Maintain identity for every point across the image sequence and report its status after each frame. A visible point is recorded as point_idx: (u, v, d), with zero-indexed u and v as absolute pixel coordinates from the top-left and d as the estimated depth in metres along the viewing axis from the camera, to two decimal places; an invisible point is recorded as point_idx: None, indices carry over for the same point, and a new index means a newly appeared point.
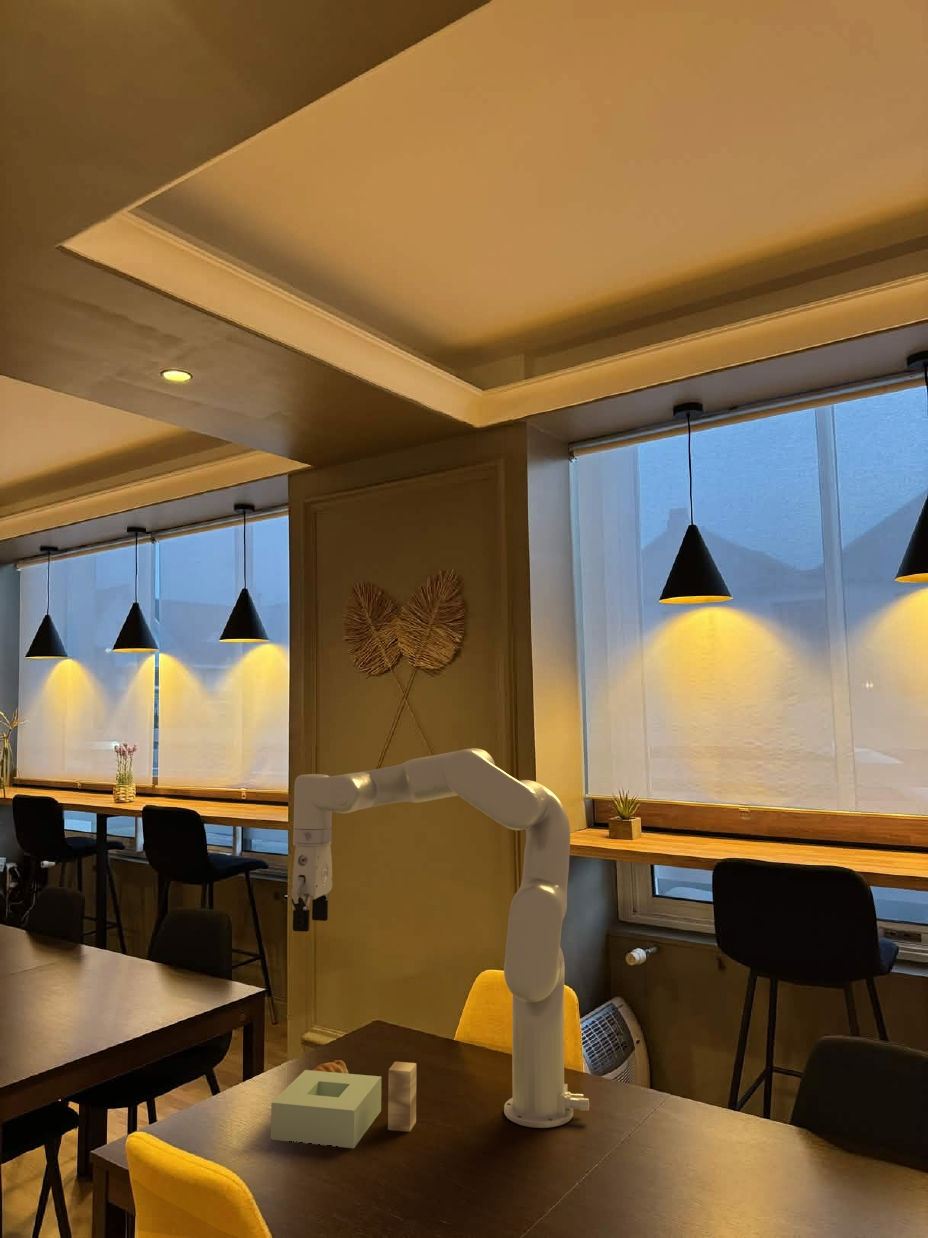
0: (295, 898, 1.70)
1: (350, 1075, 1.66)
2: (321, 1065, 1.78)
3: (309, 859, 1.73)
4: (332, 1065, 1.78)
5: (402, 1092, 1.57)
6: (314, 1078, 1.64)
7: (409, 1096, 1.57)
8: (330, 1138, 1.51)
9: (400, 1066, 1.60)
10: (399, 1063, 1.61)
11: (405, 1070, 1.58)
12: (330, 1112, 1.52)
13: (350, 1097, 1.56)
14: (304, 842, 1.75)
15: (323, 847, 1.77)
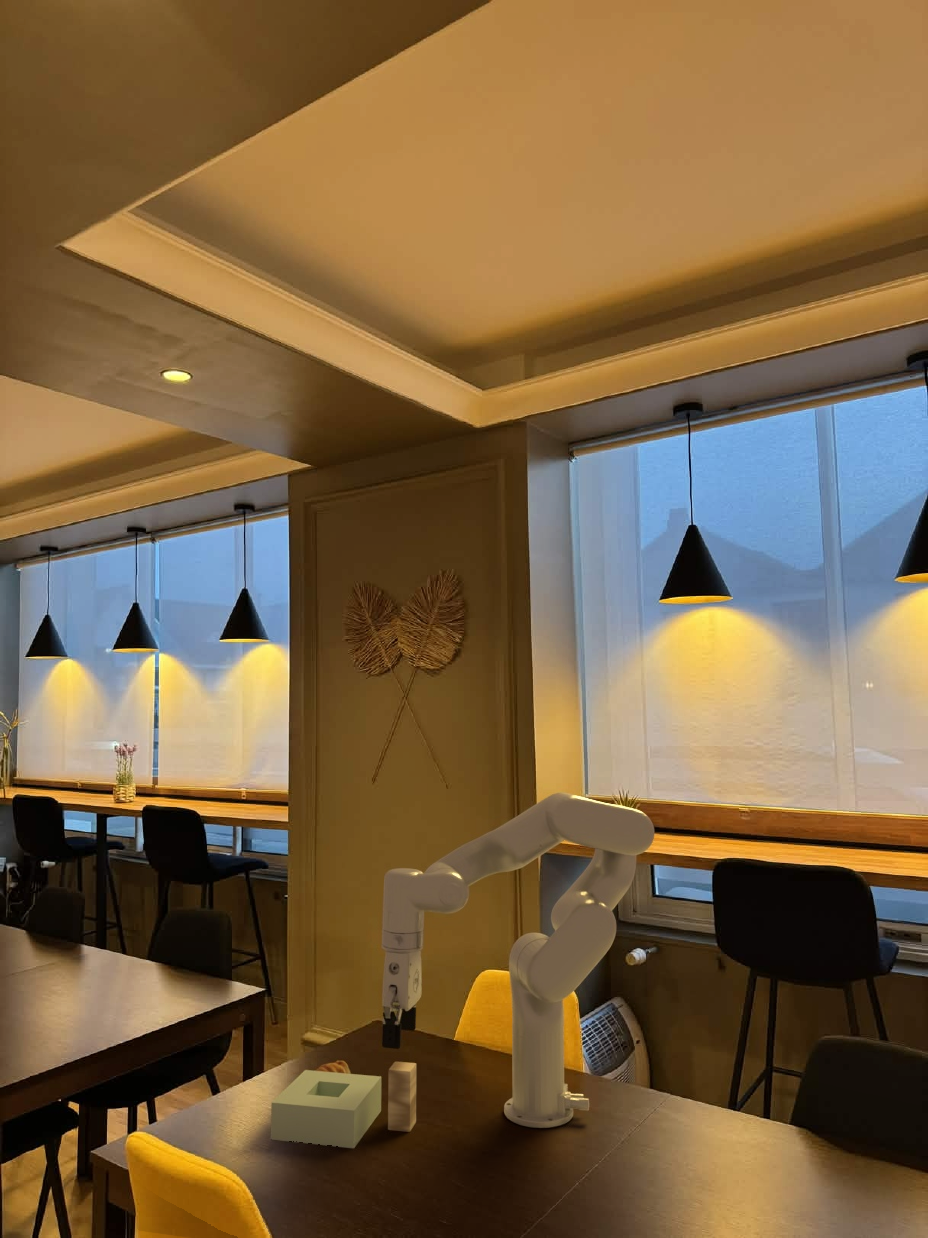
0: (387, 1013, 1.53)
1: (350, 1075, 1.66)
2: (323, 1066, 1.78)
3: (401, 967, 1.57)
4: (334, 1065, 1.78)
5: (402, 1092, 1.57)
6: (314, 1078, 1.64)
7: (409, 1096, 1.57)
8: (330, 1138, 1.51)
9: (399, 1066, 1.60)
10: (399, 1063, 1.61)
11: (405, 1070, 1.58)
12: (330, 1112, 1.52)
13: (350, 1097, 1.56)
14: (395, 947, 1.59)
15: (415, 952, 1.61)
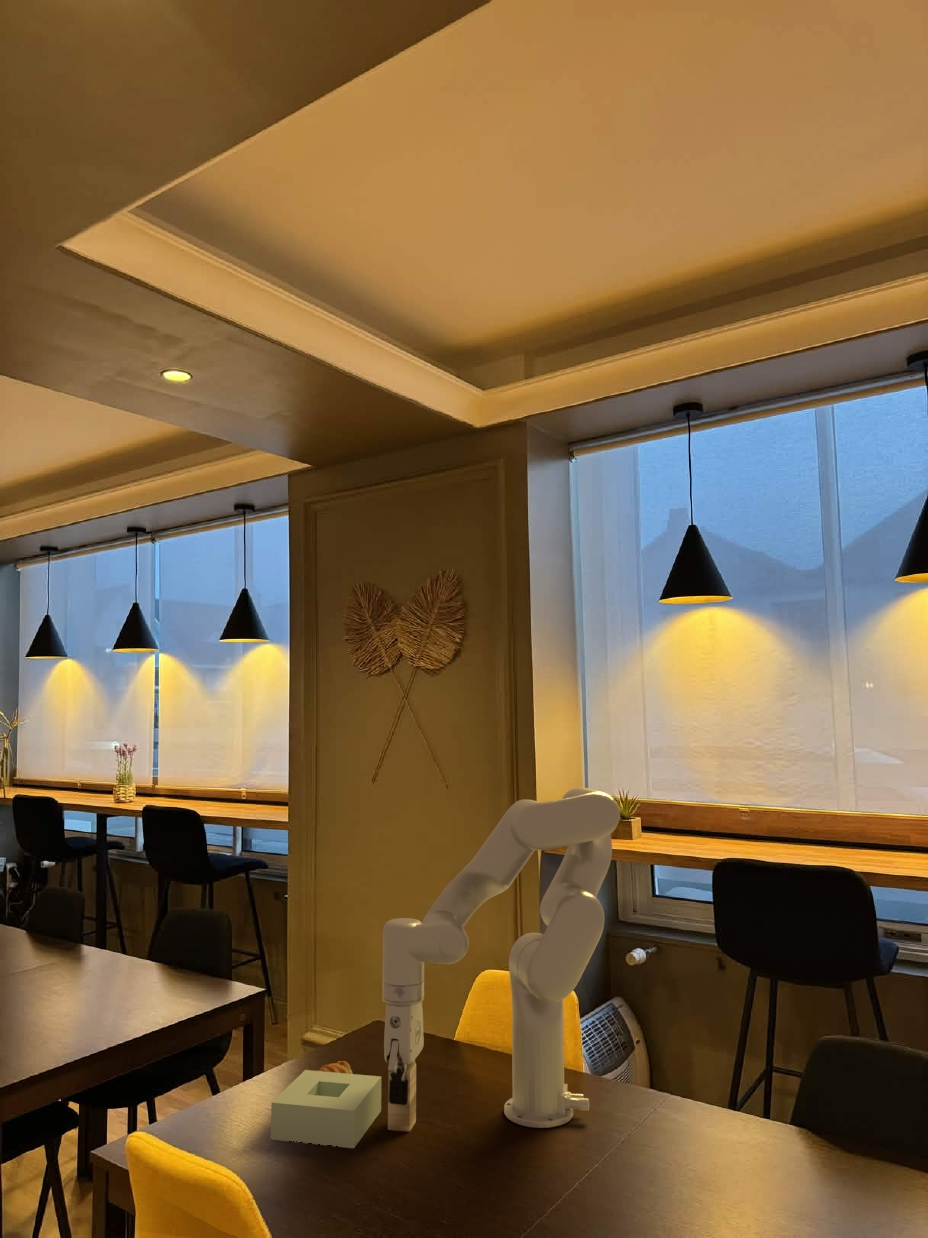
0: (393, 1074, 1.54)
1: (350, 1075, 1.66)
2: (325, 1066, 1.78)
3: (402, 1021, 1.56)
4: (336, 1066, 1.77)
5: None
6: (314, 1078, 1.64)
7: (409, 1096, 1.57)
8: (330, 1138, 1.51)
9: (399, 1066, 1.60)
10: None
11: None
12: (330, 1112, 1.52)
13: (350, 1097, 1.56)
14: (396, 1000, 1.58)
15: (416, 1004, 1.60)
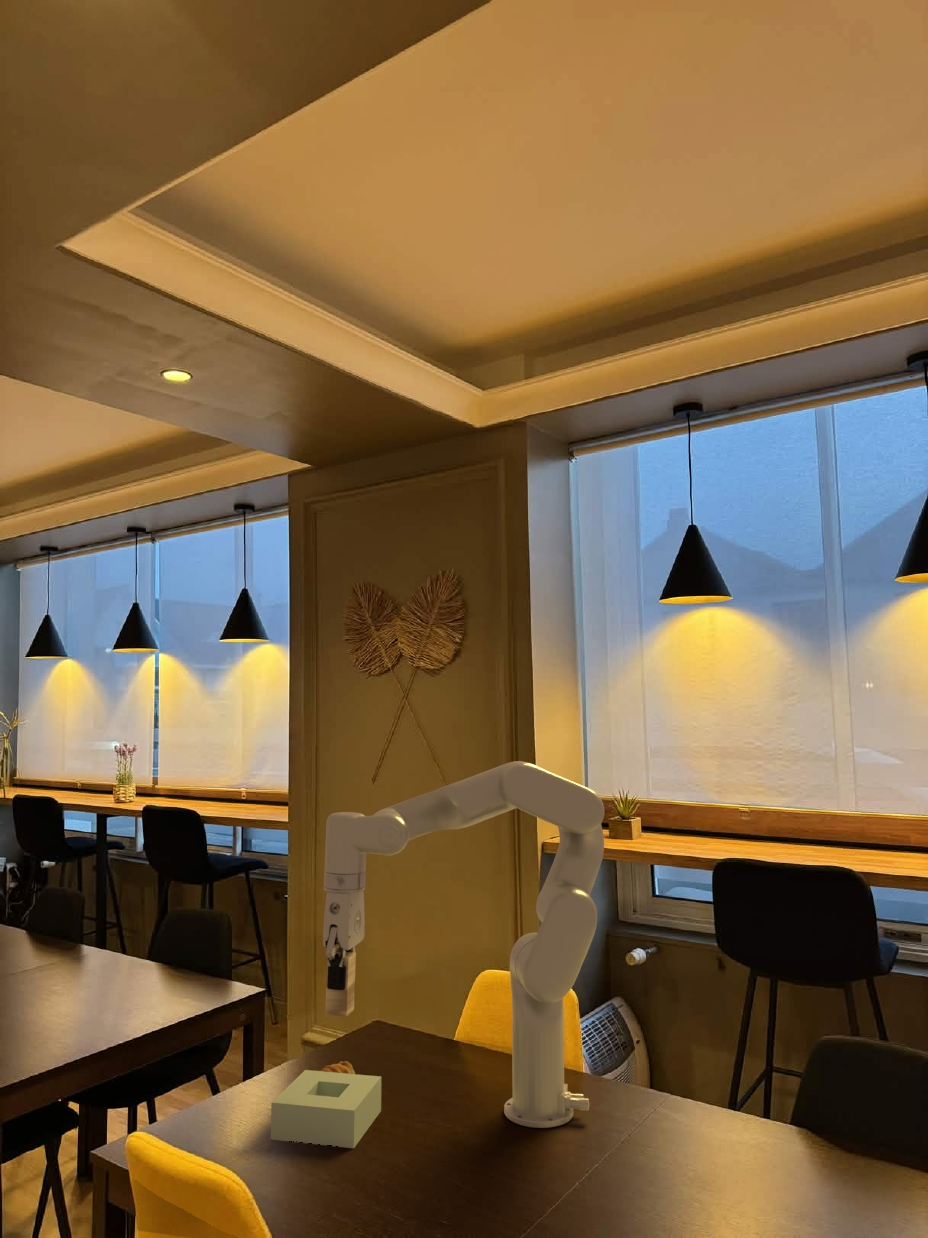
0: (331, 958, 1.57)
1: (350, 1075, 1.66)
2: (327, 1067, 1.78)
3: (342, 907, 1.58)
4: (339, 1066, 1.77)
5: None
6: (314, 1078, 1.64)
7: (347, 982, 1.59)
8: (330, 1138, 1.51)
9: (339, 954, 1.62)
10: (339, 952, 1.64)
11: None
12: (330, 1112, 1.52)
13: (350, 1097, 1.56)
14: (336, 888, 1.60)
15: (356, 893, 1.62)
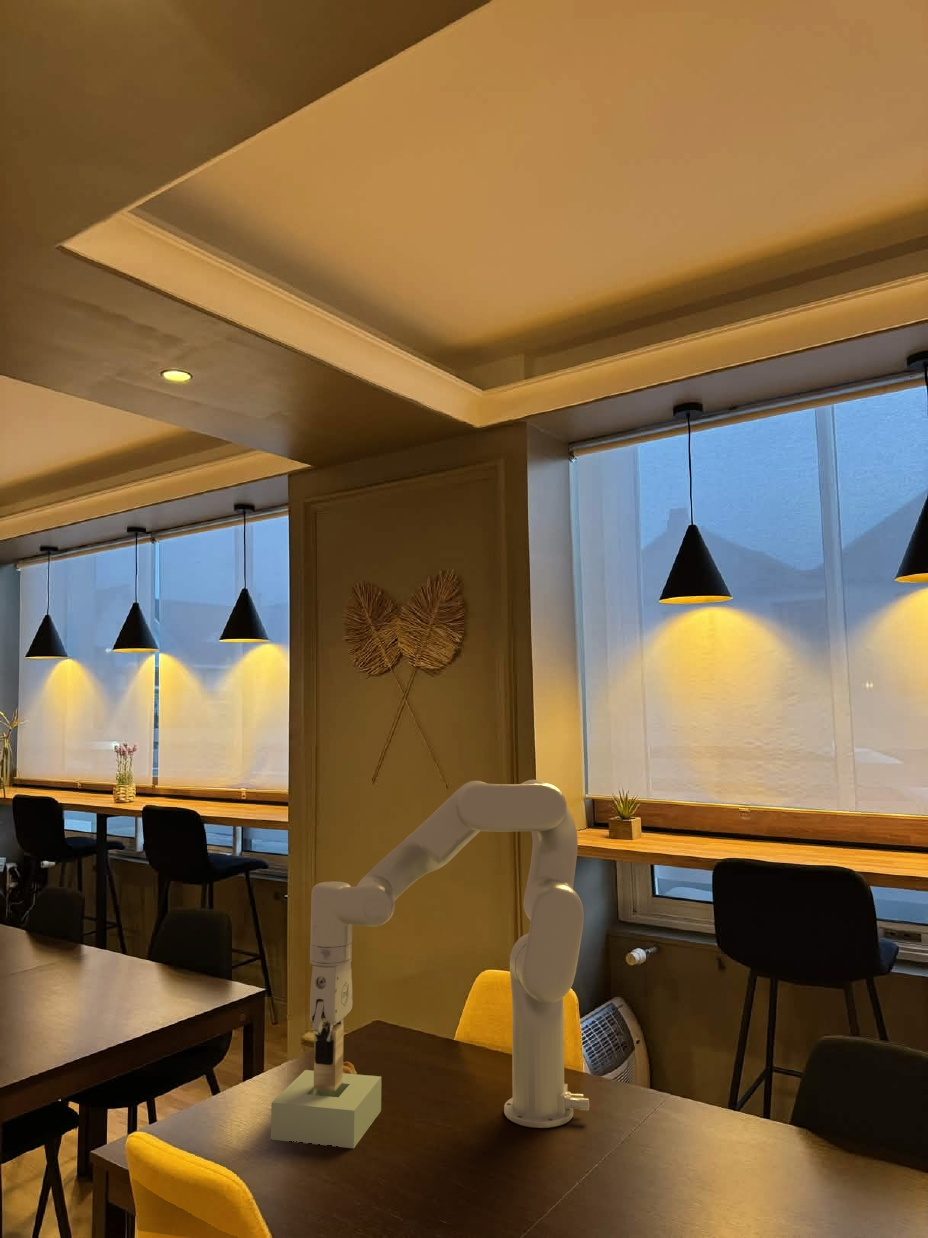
0: (318, 1033, 1.55)
1: (350, 1075, 1.66)
2: None
3: (328, 981, 1.57)
4: None
5: None
6: None
7: (334, 1056, 1.58)
8: (330, 1138, 1.51)
9: (326, 1027, 1.61)
10: None
11: None
12: (330, 1112, 1.52)
13: (350, 1097, 1.56)
14: (322, 961, 1.59)
15: (343, 965, 1.61)
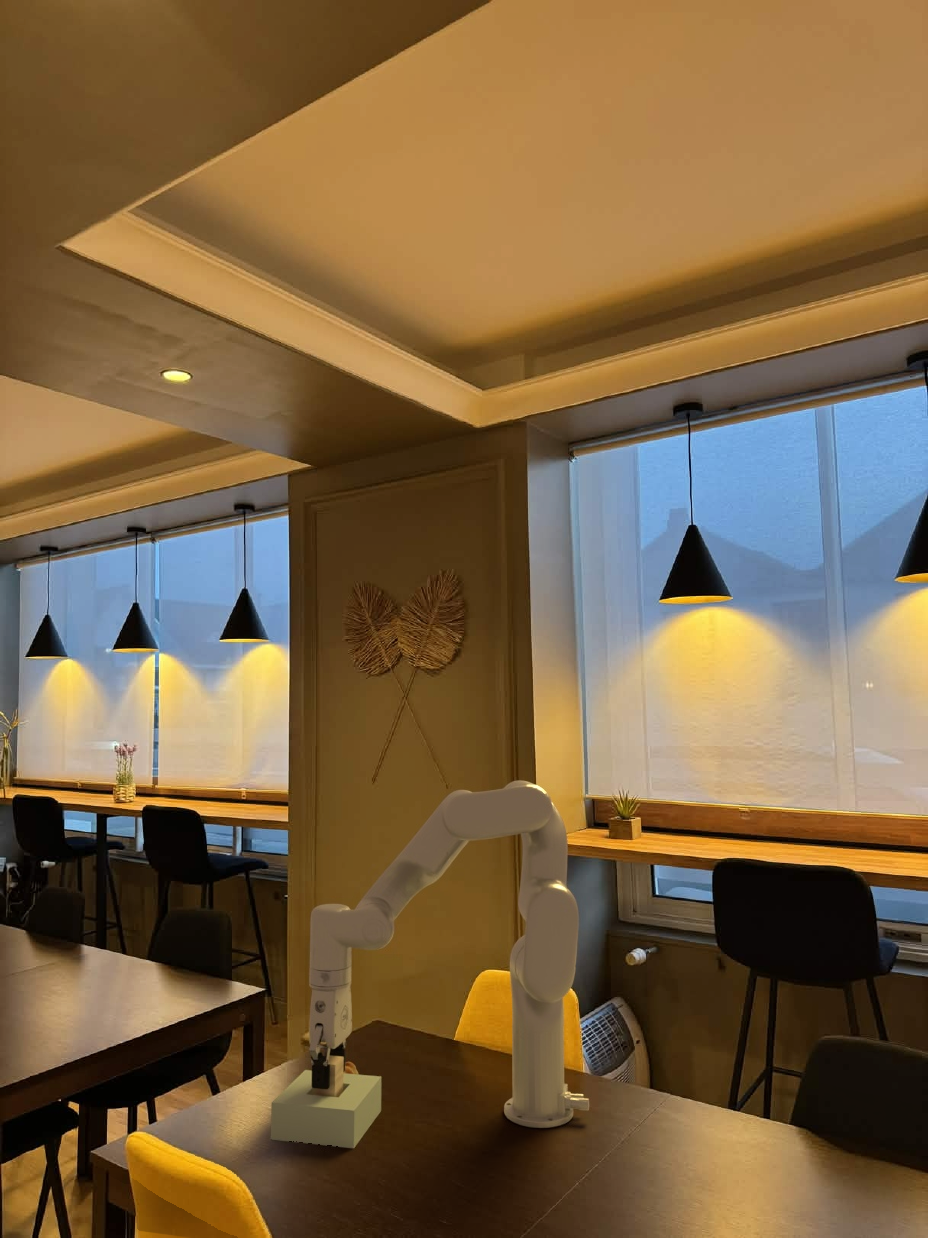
0: (314, 1056, 1.54)
1: (350, 1075, 1.66)
2: None
3: (327, 1005, 1.57)
4: None
5: None
6: None
7: (334, 1089, 1.57)
8: (330, 1138, 1.51)
9: None
10: None
11: (330, 1063, 1.58)
12: (330, 1112, 1.52)
13: (350, 1097, 1.56)
14: (322, 985, 1.58)
15: (342, 988, 1.60)
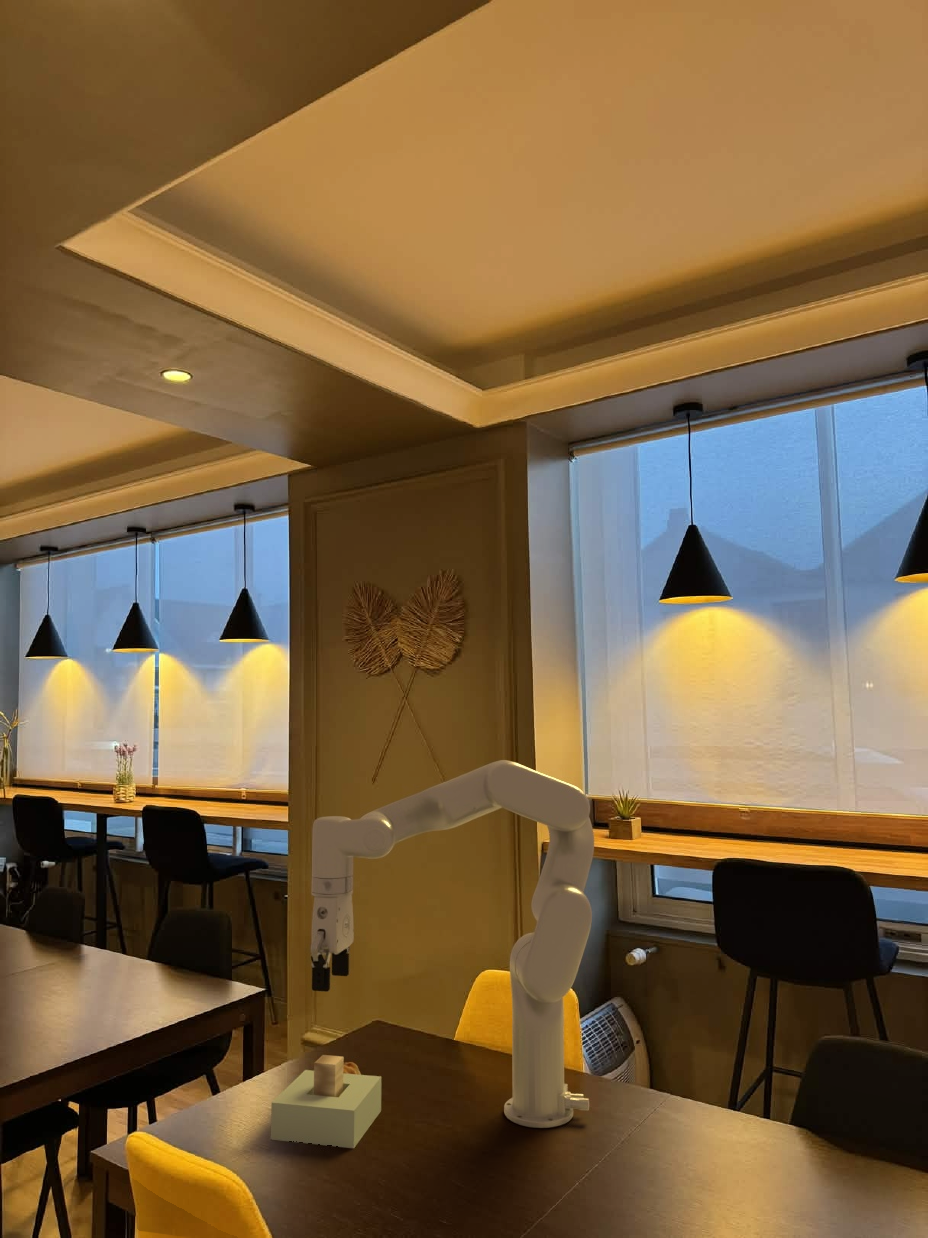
0: (315, 955, 1.55)
1: (350, 1075, 1.66)
2: None
3: (329, 911, 1.58)
4: (345, 1067, 1.77)
5: (327, 1085, 1.58)
6: None
7: (334, 1089, 1.57)
8: (330, 1138, 1.51)
9: (326, 1059, 1.60)
10: (326, 1056, 1.62)
11: (330, 1063, 1.58)
12: (330, 1112, 1.52)
13: (350, 1097, 1.56)
14: (324, 892, 1.60)
15: (344, 897, 1.62)
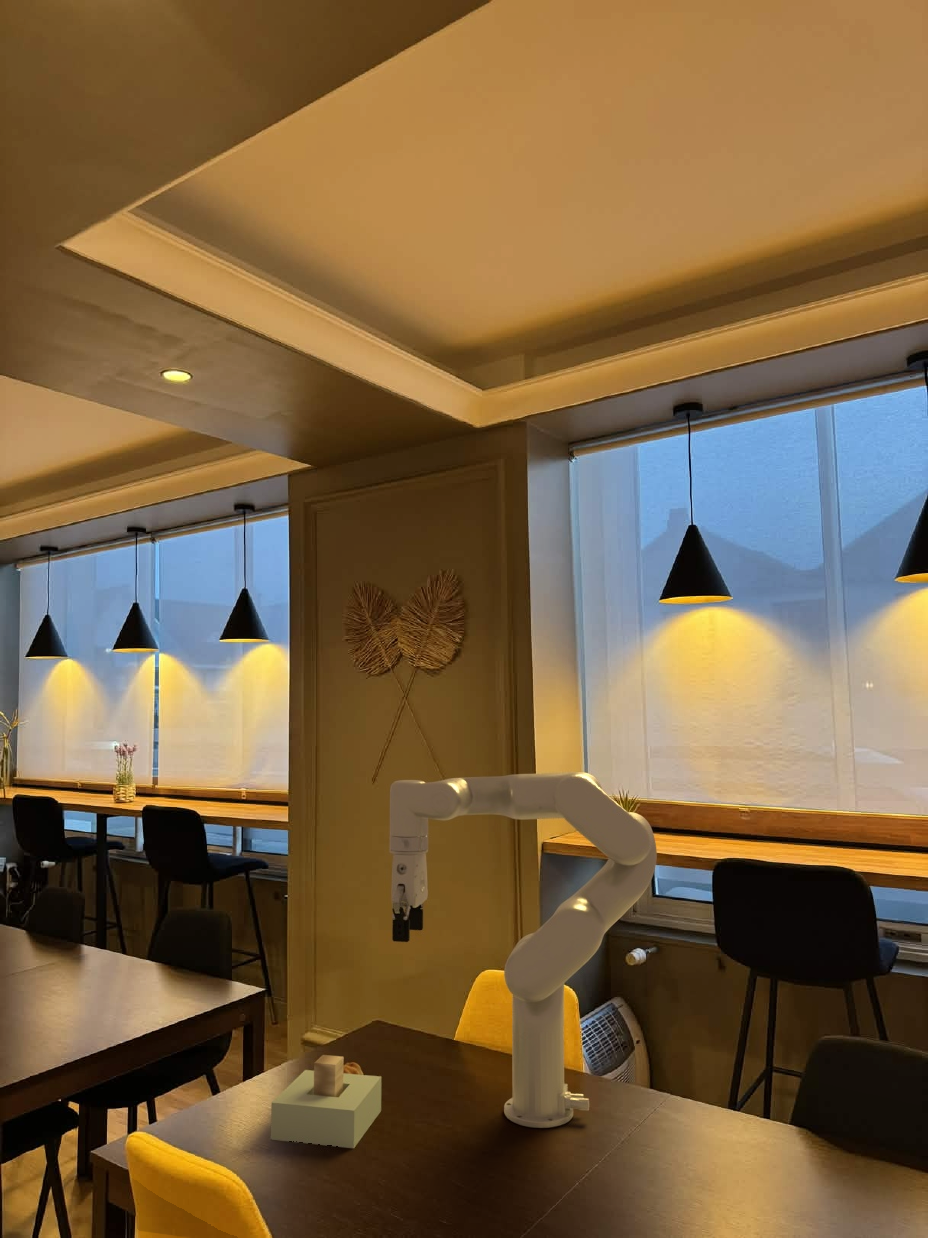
0: (396, 908, 1.65)
1: (350, 1075, 1.66)
2: None
3: (408, 867, 1.69)
4: (347, 1068, 1.76)
5: (327, 1085, 1.58)
6: None
7: (334, 1089, 1.57)
8: (330, 1138, 1.51)
9: (326, 1059, 1.60)
10: (326, 1056, 1.62)
11: (330, 1063, 1.58)
12: (330, 1112, 1.52)
13: (350, 1097, 1.56)
14: (402, 850, 1.71)
15: (421, 855, 1.73)
